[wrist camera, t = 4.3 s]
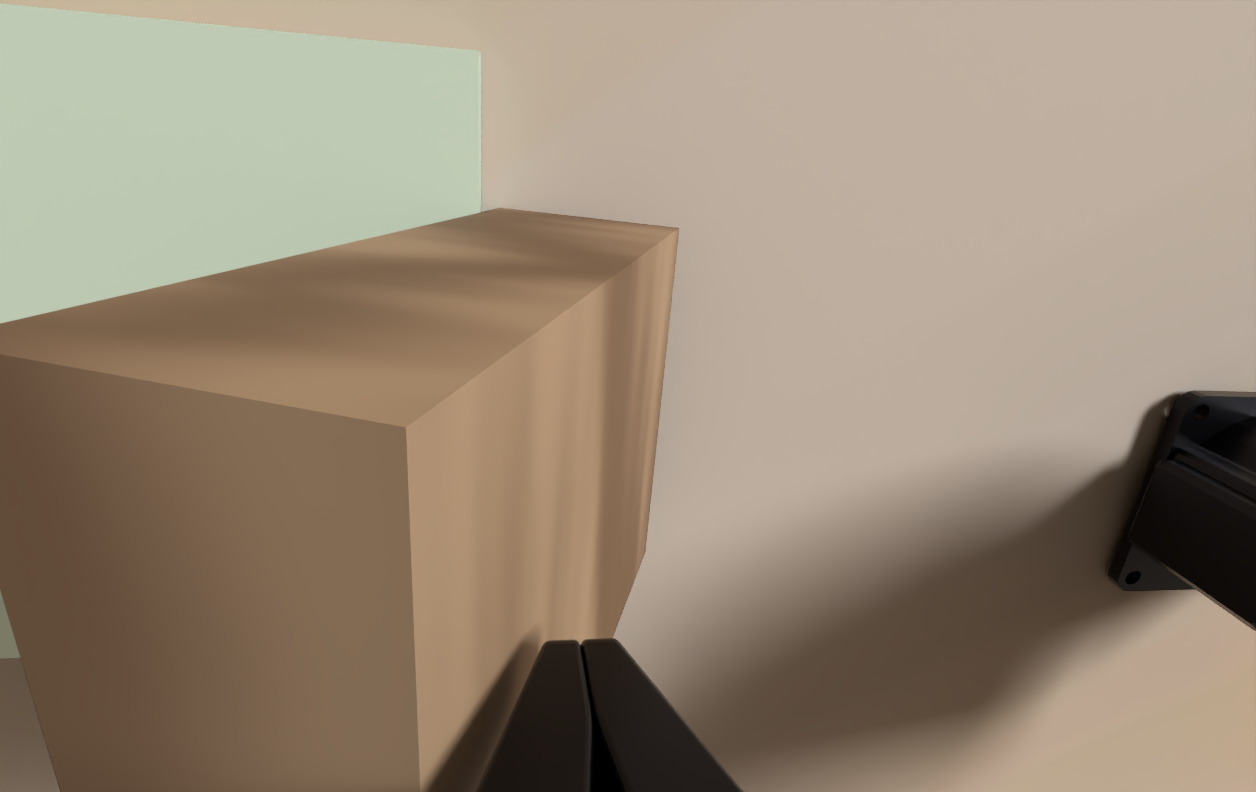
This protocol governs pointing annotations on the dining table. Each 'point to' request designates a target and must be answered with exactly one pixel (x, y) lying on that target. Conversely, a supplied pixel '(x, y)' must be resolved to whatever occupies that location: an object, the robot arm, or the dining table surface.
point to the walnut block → (329, 501)
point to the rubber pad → (212, 152)
